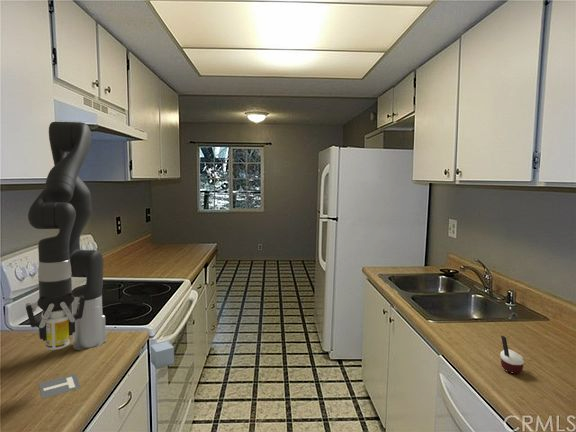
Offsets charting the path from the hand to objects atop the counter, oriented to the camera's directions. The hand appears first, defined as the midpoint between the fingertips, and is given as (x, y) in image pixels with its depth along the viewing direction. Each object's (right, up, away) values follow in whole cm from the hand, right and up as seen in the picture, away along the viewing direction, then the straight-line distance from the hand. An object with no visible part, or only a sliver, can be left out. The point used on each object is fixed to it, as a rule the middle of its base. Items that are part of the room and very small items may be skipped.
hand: (57, 336), depth 103 cm
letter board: (0, -15, +2) cm, 15 cm away
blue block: (+23, -14, +17) cm, 32 cm away
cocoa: (+134, -17, +17) cm, 136 cm away
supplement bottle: (0, -3, 0) cm, 3 cm away
